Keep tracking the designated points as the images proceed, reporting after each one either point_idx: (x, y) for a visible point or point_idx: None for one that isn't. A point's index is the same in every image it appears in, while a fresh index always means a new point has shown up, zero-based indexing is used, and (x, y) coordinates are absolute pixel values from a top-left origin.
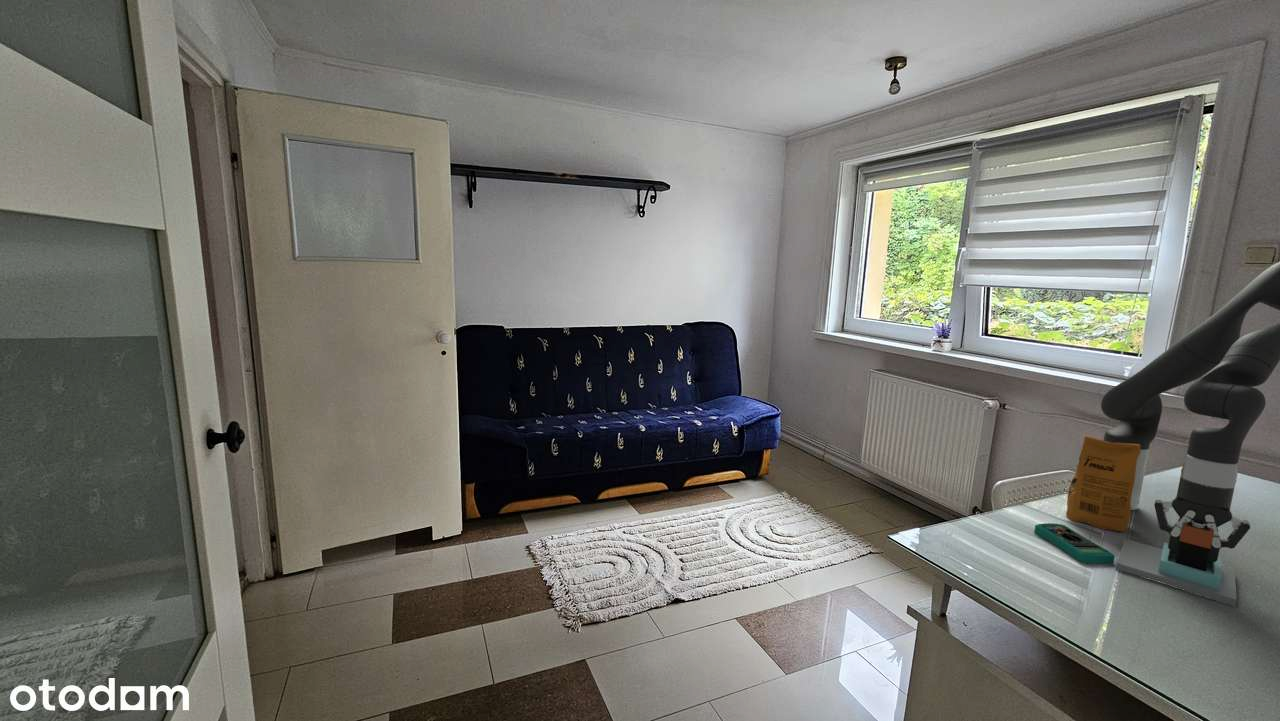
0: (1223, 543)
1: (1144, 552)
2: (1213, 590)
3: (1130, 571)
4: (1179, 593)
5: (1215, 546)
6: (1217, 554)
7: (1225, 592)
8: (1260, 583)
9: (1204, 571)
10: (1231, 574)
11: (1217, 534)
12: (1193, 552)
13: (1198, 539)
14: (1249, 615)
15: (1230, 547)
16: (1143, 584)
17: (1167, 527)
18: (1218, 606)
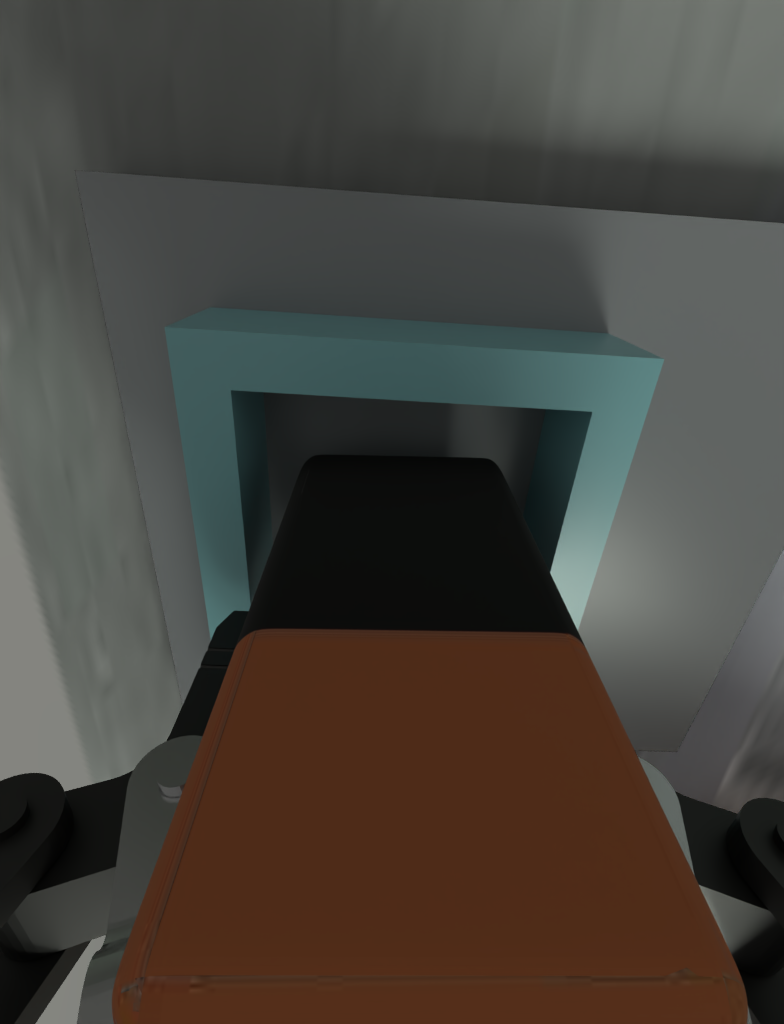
0: (96, 836)
1: (617, 636)
2: (240, 246)
3: None
4: (467, 91)
5: (196, 751)
6: (203, 677)
7: (166, 287)
8: (101, 704)
9: (303, 388)
10: (190, 665)
11: (92, 1007)
12: (409, 552)
13: (389, 726)
14: (4, 67)
15: (17, 787)
16: (740, 26)
17: (743, 879)
18: (202, 54)
